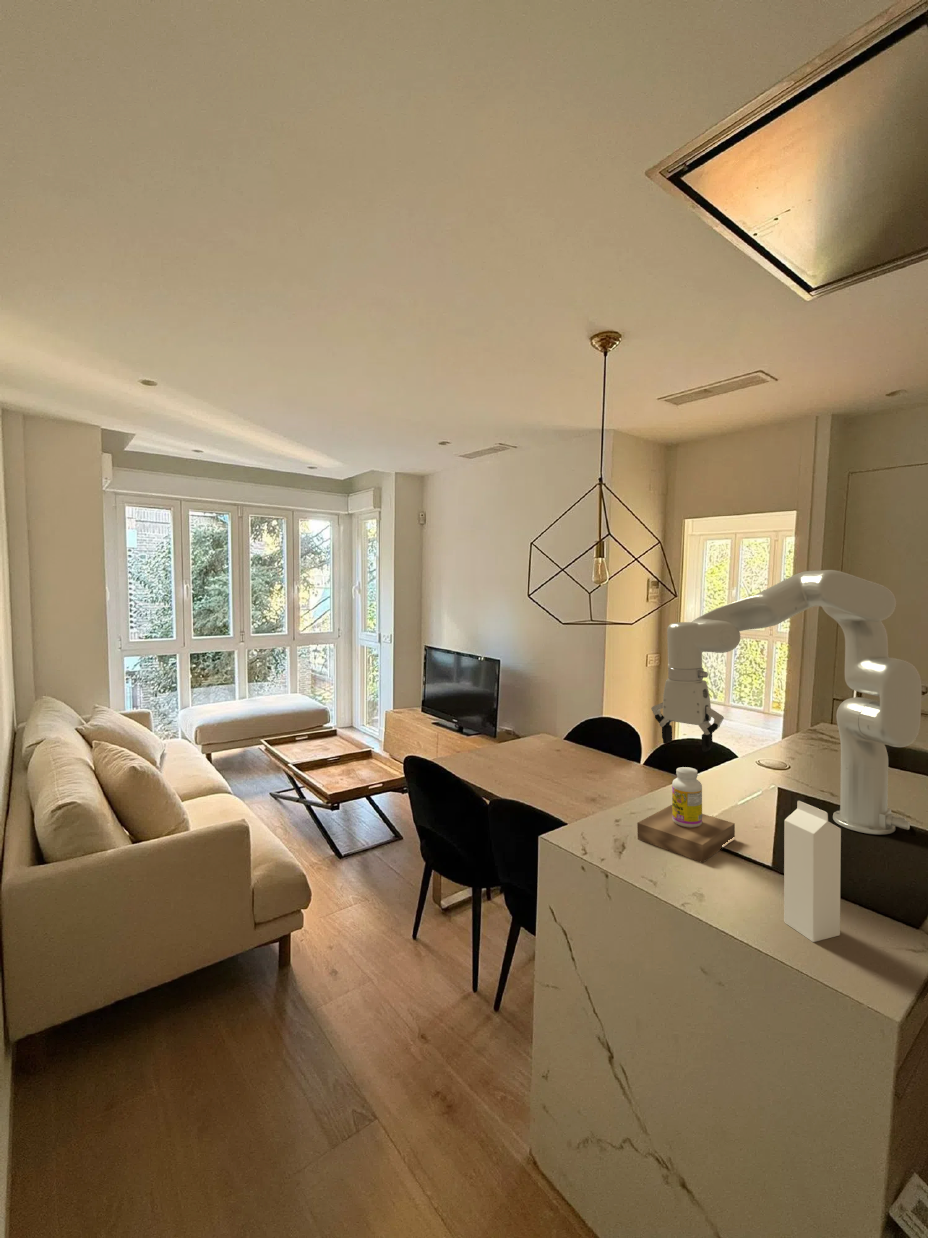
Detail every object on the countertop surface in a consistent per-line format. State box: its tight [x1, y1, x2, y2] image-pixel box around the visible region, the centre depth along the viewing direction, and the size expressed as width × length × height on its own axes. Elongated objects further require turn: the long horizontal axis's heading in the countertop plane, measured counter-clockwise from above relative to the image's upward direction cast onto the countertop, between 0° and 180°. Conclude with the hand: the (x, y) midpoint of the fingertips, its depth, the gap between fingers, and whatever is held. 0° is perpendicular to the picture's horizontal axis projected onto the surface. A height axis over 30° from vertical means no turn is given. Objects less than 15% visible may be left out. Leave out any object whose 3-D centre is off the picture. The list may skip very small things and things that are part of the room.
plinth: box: [636, 804, 736, 863], centre depth 132 cm, size 16×16×4 cm
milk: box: [783, 800, 842, 943], centre depth 97 cm, size 6×6×22 cm
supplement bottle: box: [671, 766, 703, 828], centre depth 132 cm, size 7×7×13 cm
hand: (686, 746), depth 131 cm, fingers open, 9 cm apart
